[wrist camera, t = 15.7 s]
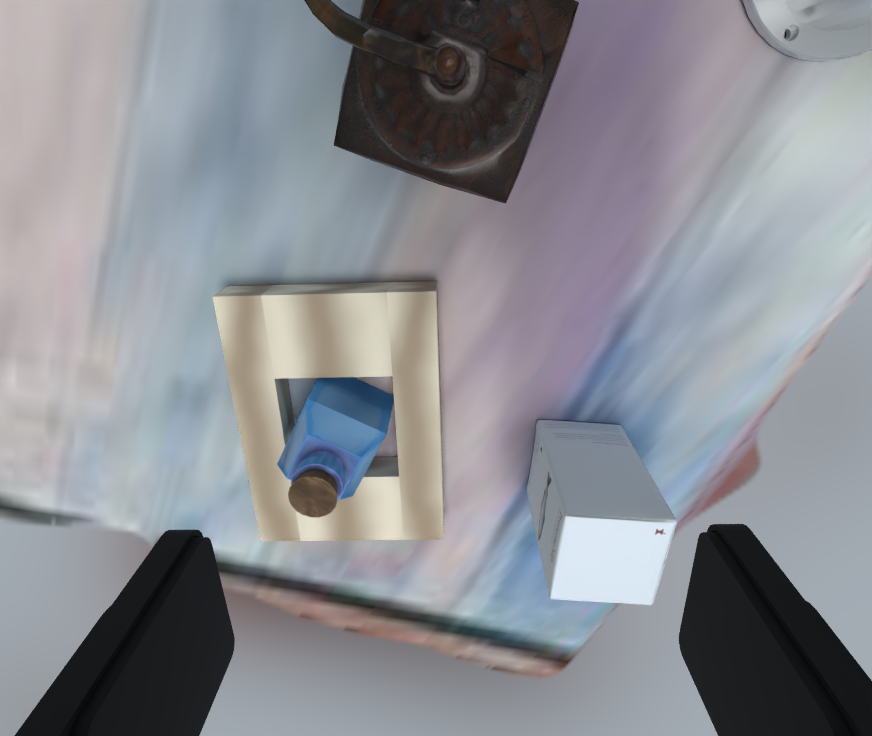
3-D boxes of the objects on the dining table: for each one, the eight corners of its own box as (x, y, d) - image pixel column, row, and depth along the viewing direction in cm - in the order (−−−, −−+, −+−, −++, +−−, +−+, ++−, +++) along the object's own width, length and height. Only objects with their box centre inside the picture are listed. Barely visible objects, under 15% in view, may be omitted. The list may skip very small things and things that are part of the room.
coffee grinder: (557, 19, 34) (660, -91, 18) (497, 193, 38) (534, 235, 22) (319, -72, 33) (186, -285, 16) (283, 120, 37) (148, 106, 20)
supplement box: (535, 416, 45) (565, 512, 34) (623, 423, 45) (682, 521, 34) (523, 489, 48) (547, 601, 37) (605, 495, 48) (655, 609, 37)
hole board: (436, 280, 41) (436, 291, 38) (444, 516, 50) (443, 539, 47) (228, 286, 41) (212, 296, 39) (271, 518, 50) (260, 541, 47)
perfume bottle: (394, 396, 45) (376, 480, 34) (364, 452, 47) (338, 549, 36) (325, 364, 44) (284, 440, 33) (298, 424, 46) (250, 514, 35)
